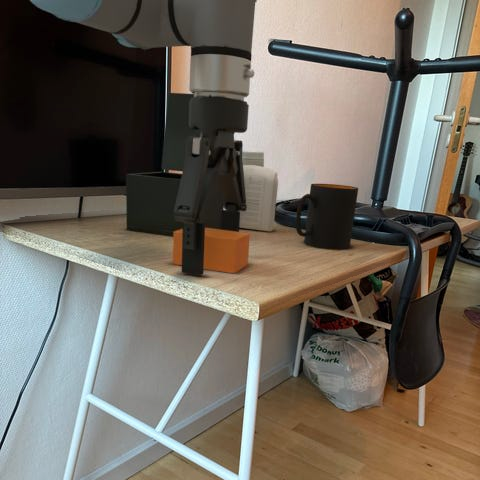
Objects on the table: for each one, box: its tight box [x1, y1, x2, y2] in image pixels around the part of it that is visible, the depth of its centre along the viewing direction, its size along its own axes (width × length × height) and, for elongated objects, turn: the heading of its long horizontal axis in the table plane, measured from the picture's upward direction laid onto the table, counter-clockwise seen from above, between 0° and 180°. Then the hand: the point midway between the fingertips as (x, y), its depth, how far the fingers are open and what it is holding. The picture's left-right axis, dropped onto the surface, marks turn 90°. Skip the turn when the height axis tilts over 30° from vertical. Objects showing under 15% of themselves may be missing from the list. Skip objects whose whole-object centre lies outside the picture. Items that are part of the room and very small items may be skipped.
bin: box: [125, 171, 224, 237], centre depth 91 cm, size 14×14×10 cm
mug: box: [295, 183, 359, 250], centre depth 86 cm, size 8×12×10 cm
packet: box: [172, 228, 251, 274], centre depth 68 cm, size 6×9×4 cm, turn 71°
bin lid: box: [160, 92, 200, 172], centre depth 94 cm, size 14×14×1 cm
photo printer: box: [226, 165, 279, 233], centre depth 97 cm, size 10×4×12 cm, turn 75°
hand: (211, 263), depth 68 cm, fingers open, 13 cm apart
